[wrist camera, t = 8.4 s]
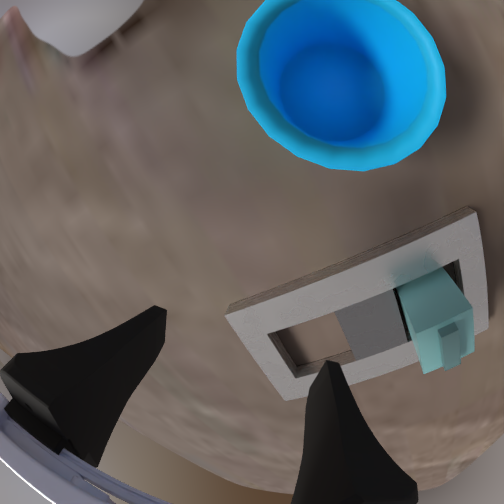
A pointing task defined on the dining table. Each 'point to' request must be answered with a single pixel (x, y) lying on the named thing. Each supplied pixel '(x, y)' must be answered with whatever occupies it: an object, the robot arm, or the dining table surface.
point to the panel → (362, 303)
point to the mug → (342, 80)
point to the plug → (437, 320)
